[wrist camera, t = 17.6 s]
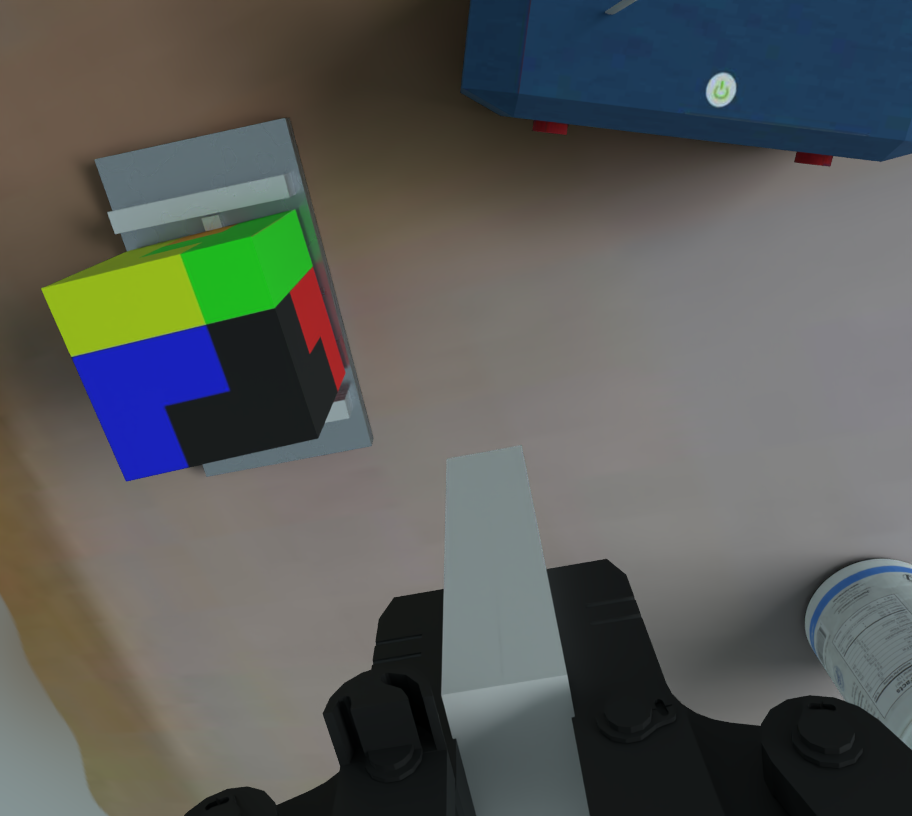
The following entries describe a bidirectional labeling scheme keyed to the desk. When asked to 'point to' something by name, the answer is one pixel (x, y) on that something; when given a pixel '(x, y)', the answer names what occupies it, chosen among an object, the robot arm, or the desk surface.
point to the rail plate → (227, 203)
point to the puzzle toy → (203, 345)
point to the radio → (703, 70)
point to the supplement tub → (868, 638)
